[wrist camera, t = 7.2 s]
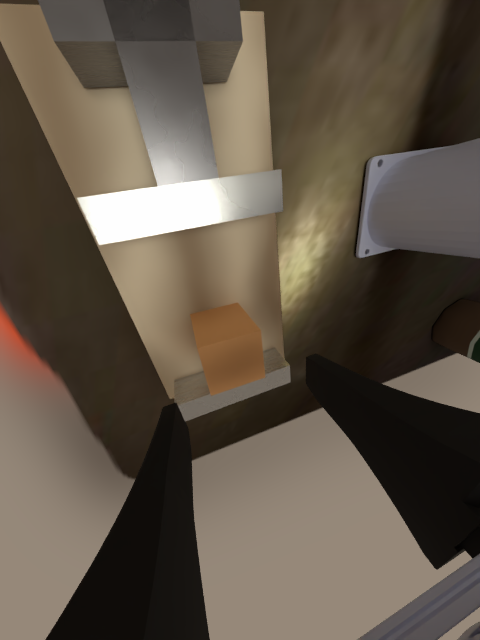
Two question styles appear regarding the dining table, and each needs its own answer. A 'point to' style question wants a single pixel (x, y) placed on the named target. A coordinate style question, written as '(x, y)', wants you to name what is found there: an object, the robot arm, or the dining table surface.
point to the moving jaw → (163, 108)
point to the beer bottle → (460, 329)
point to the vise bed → (137, 173)
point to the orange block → (228, 347)
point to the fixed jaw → (199, 401)
